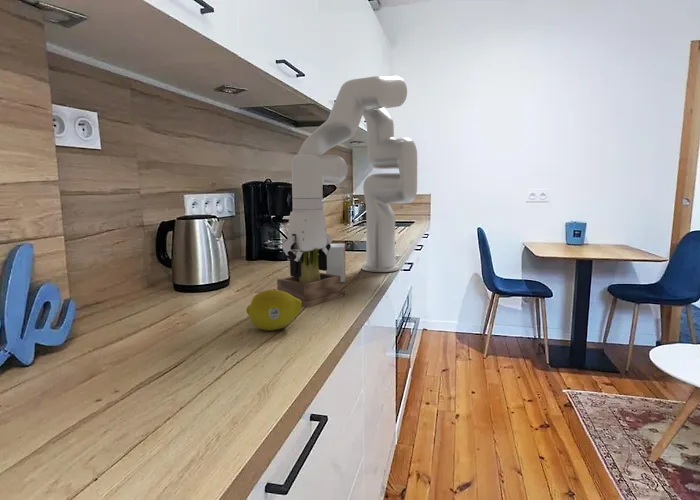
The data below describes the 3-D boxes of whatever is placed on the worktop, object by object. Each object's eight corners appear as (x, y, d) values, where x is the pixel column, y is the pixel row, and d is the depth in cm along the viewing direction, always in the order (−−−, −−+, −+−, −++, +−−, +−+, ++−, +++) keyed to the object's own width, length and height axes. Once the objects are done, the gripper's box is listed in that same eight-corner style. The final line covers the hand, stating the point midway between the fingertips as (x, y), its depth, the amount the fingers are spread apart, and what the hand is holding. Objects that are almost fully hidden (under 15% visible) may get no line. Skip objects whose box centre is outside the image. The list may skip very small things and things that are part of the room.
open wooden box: (311, 287, 118) (310, 270, 118) (345, 294, 111) (344, 275, 110) (273, 298, 108) (272, 279, 107) (308, 307, 100) (307, 286, 99)
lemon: (242, 335, 82) (240, 295, 81) (253, 322, 90) (251, 285, 88) (298, 336, 81) (297, 295, 80) (304, 322, 89) (303, 285, 88)
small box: (344, 282, 124) (344, 247, 123) (325, 282, 124) (325, 247, 123) (345, 276, 132) (345, 243, 131) (327, 276, 132) (327, 243, 131)
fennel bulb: (296, 292, 110) (294, 246, 108) (312, 289, 113) (311, 244, 111) (307, 296, 106) (306, 248, 104) (324, 293, 109) (323, 246, 107)
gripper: (319, 203, 115) (320, 266, 117) (271, 206, 101) (273, 277, 104) (341, 204, 110) (342, 269, 113) (293, 207, 97) (295, 281, 99)
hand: (309, 273), depth 108 cm, fingers open, 9 cm apart
